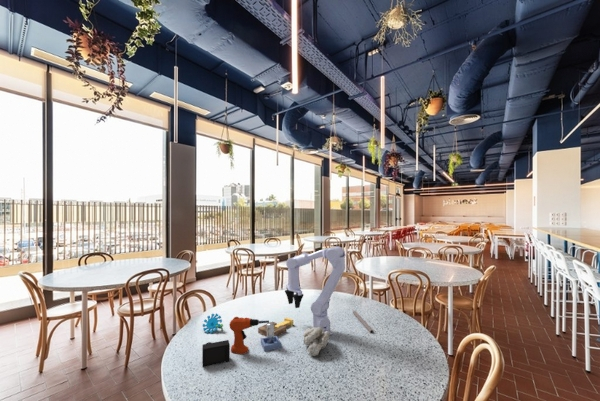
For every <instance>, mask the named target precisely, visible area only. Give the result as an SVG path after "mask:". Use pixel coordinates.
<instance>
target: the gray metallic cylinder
mask: <svg viewBox="0 0 600 401" xmlns="http://www.w3.org/2000/svg"><path fill="white" fill-rule="evenodd" d="M273 322H274V321H272V322H271V321H269V323H266V324H267V336H266V337H267V344H273V343H275V342H274V323H273Z"/></svg>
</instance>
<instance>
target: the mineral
mask: <svg viewBox="0 0 600 401" xmlns="http://www.w3.org/2000/svg"><path fill="white" fill-rule="evenodd" d="M329 338H330V333H329V332H328V331H325V332H323V329H322V328H316V327H314V328H313V327H312V329H311V328H310V327H308V328H307V329H306V330H305V331H304V332H303V340H302V341H303V344H304V345H305V346H308V347H307V352H308V353H309V355H310V356H312V357H313V356H314V357H316V356H318V355H319V353H320V351H321V350H323V349H325V348H326V346H327V344H328V342H329Z"/></svg>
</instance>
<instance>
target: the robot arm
mask: <svg viewBox="0 0 600 401" xmlns="http://www.w3.org/2000/svg"><path fill="white" fill-rule="evenodd" d="M319 258H323V259H326V260H328V262H329V263H330V265H331V266H332V270H331V272H330V274H329V275H328V278H327V280H326V282H325V285H324V286H323V288H322V290H321V292H320V293H319V295H318V297H317V298H316V299H315V301H314V302H312V304H310V311H311V313H312V317H313V318H312V321H313V322H312V323H313V324H312V325H313V327H312V328H314V327H316V328H322V329H323V332H325V331H328V332H329V333H330V335H331V336H332V335H333V332H331V320H330V319H329V317H328V309H330V308H329V307H330V302H331V297H332V294H334V292H335V289H336V287H337V285H338V284H339V282H340V280H341V278H342V276H343V274H344V272H345V269H346V253H345V251H344V249H343V247H342V246H339V245H337V246H335V247H333V246H332V247H327V248H323V249H320V250H317V251H314V252H312V253H308V252H301V254H298V255H294V257H289V258H288V259H287V260H286V263H285V264H286V267H287V268H288V271H287V272H288V273H287V274H288V284H286V286H285V288H286V290H284V292H285V295H286V298H287V302H288V304H289V305H291V304H293V302H294V307H295V309H299V308H300V307H301V302H302V299H303V298H304V293H303V291H302V290H301V289H302V287H301V286H300V267H302V266H306V265H309V264H310V263H311V262H312V260H316V259H319ZM312 328H310V329H312Z"/></svg>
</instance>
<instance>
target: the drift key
mask: <svg viewBox="0 0 600 401" xmlns="http://www.w3.org/2000/svg"><path fill="white" fill-rule="evenodd" d="M288 324H289V327H290V326H291V327H293V326H294V319H292V318H289V317H284V321H281V322H279V323H277V325H275V326H274V329H276V328H278V327H279V326H281V325H283V326H286V325H288Z"/></svg>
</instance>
